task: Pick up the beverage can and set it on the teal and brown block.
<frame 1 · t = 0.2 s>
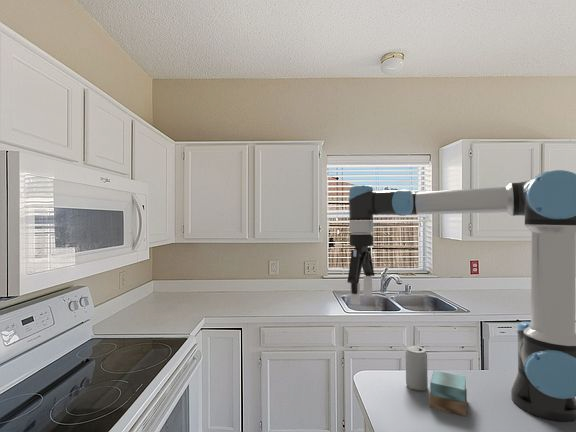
hand: (362, 299, 107), 27 cm above the countertop, tool pointing down, fingers open, 13 cm apart
beverage can: (416, 387, 105), on the countertop
teal and brown block: (448, 404, 95), on the countertop
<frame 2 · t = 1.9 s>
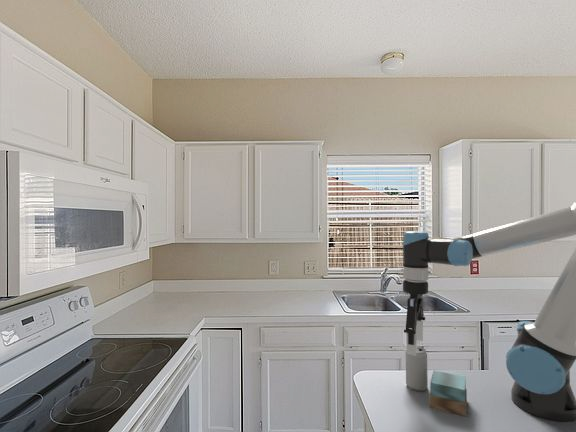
hand: (415, 346, 105), 12 cm above the countertop, tool pointing down, fingers open, 13 cm apart
nothing on the countertop moved.
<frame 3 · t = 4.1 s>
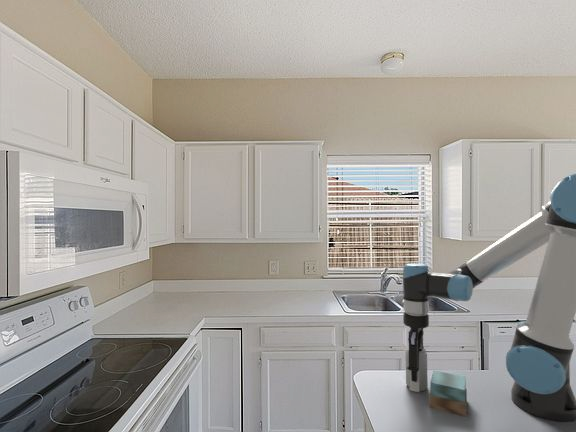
hand: (416, 385, 105), 0 cm above the countertop, tool pointing down, fingers closed on beverage can, 6 cm apart
beverage can: (416, 387, 105), on the countertop, touching gripper
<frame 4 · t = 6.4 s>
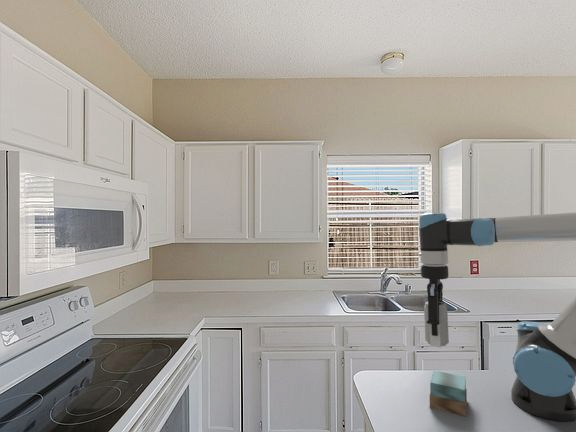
hand: (437, 342, 99), 16 cm above the countertop, tool pointing down, fingers closed on beverage can, 6 cm apart
beverage can: (436, 344, 99), point 16 cm above the countertop, touching gripper
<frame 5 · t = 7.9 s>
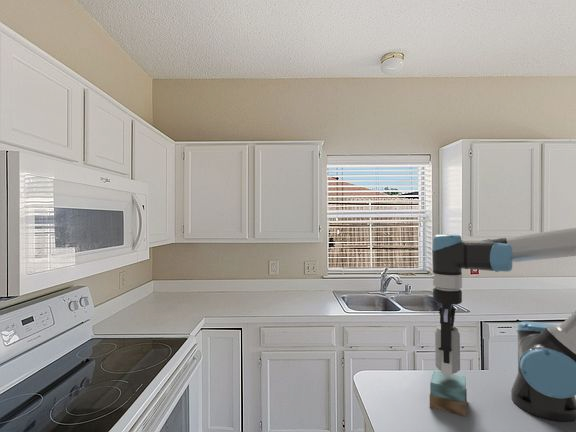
hand: (447, 368, 95), 10 cm above the countertop, tool pointing down, fingers closed on beverage can, 6 cm apart
beverage can: (447, 370, 95), point 10 cm above the countertop, touching gripper
when the fingers open (9 cm above the countertop, at t = 8.9 s): beverage can drops 1 cm, resting on teal and brown block.
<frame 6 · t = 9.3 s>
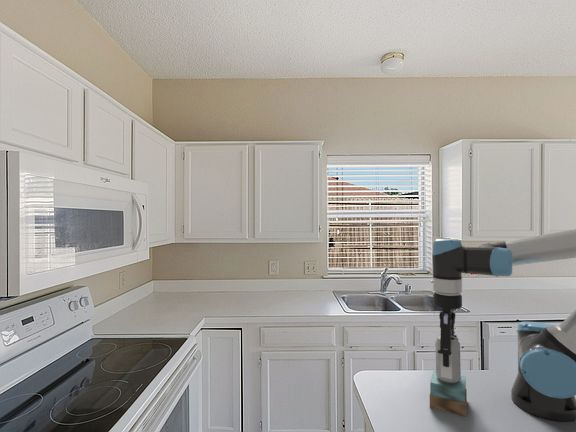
hand: (448, 368, 95), 10 cm above the countertop, tool pointing down, fingers open, 11 cm apart
beverage can: (448, 380, 95), point 7 cm above the countertop, touching teal and brown block
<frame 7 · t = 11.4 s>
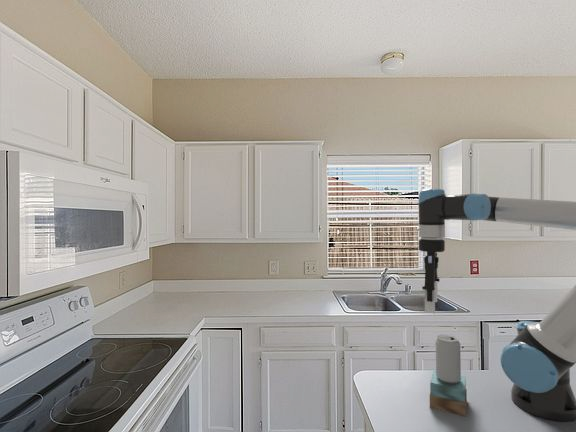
hand: (431, 306, 104), 26 cm above the countertop, tool pointing down, fingers open, 13 cm apart
nothing on the countertop moved.
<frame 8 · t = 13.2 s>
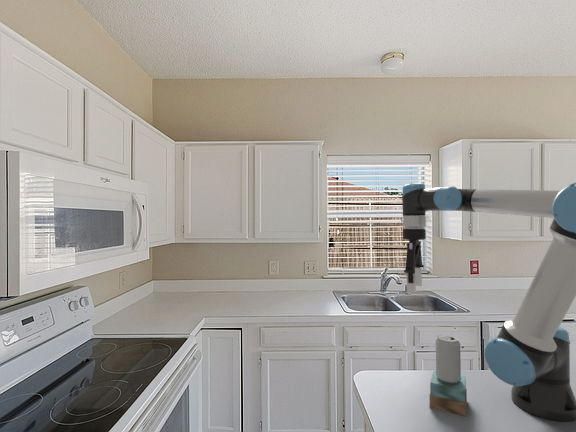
hand: (414, 289, 116), 29 cm above the countertop, tool pointing down, fingers open, 13 cm apart
nothing on the countertop moved.
at the end: beverage can 0.0 cm off-centre on the teal and brown block, point 6.8 cm above the teal and brown block's base; beverage can tilted 0°; the gripper is holding nothing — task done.
